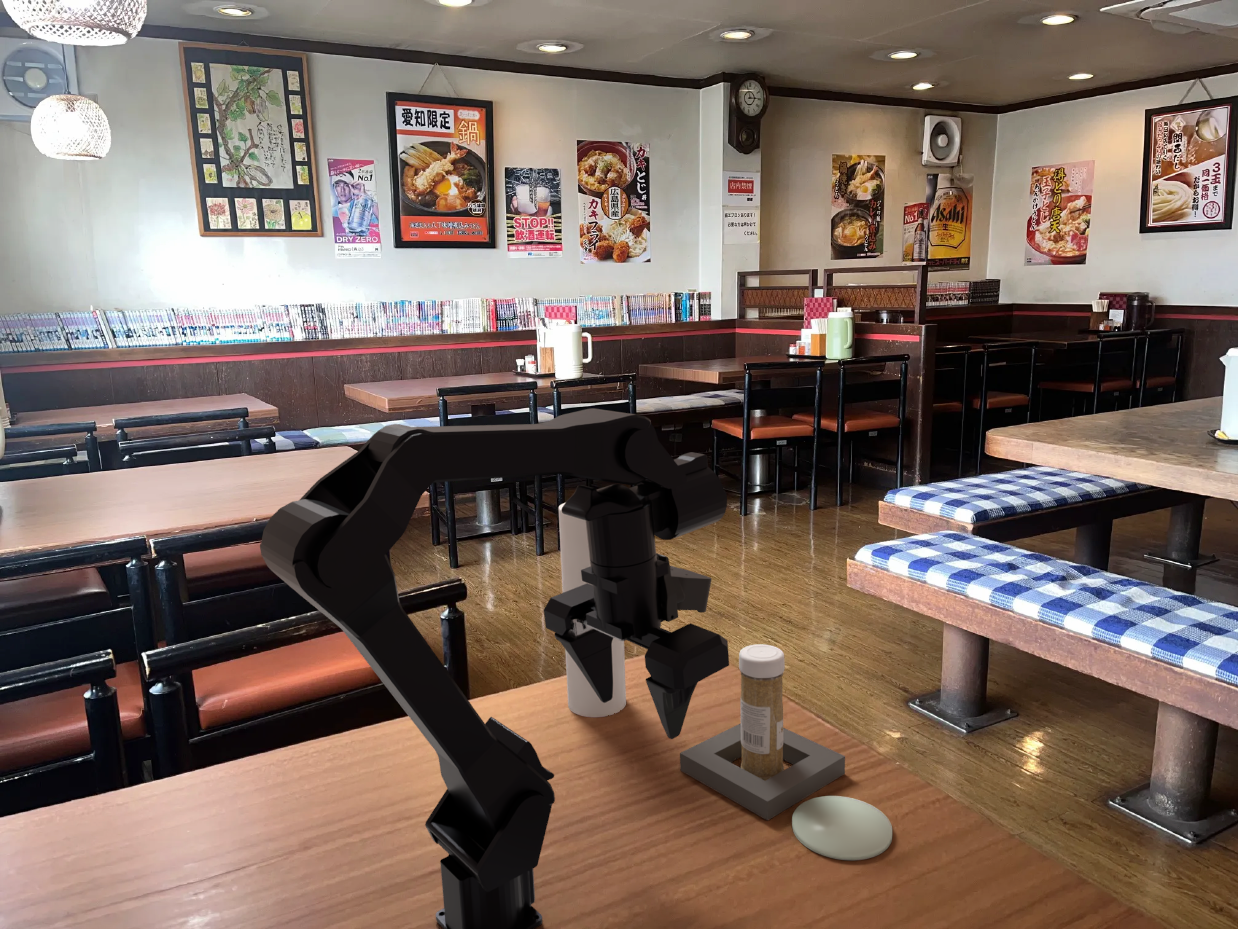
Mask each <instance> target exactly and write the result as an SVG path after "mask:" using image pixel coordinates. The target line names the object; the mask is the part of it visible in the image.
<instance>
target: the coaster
mask: <svg viewBox="0 0 1238 929" xmlns="http://www.w3.org/2000/svg"><path fill="white" fill-rule="evenodd" d="M791 827H792V832H793V834H794V836H795V838H796V839H797V840H798V841H799V843H801V844H802V845H803V846H804V847H806V848H808V850H810V851H812V852H814V853H816V854H819V855H820V856H824V857H825V858H826V857H827V858H831V859H835V860H839V861H840V860H842V861H861V860H868V859H870V858H874V857H877V856H879V855H880V854H883V853H884V852H885V851H886V850H887V849H888V848H889V847H890V846H891V843H892V841H893V827H892V824H891V821H890V819H889V817H887V816H886V814H884V813H883V811H881V810H880V809H878V808H877V807H875V806H874V805H872V804H870V803H868V802H865V801H863V800H859V799H857V798H852V797H848V796H843V795H842V796H840V795H825V796H819V797H813V798H811V799H808V800H806V801H804V802H802V803H800V804H799V805H798V806H797V807H796V809H795V810H794V812H793V814H792V818H791Z"/></svg>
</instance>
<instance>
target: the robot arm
mask: <svg viewBox="0 0 1238 929" xmlns="http://www.w3.org/2000/svg"><path fill="white" fill-rule="evenodd" d="M651 421H652V420H651V419H650V418H649V417H647V416H645V415H639V414H636V413H629V412H627V413H626V412H621V411H614V410H606V409H599V408H587V409H586V408H585V409H582V410H578V411H573V412H570V413H564V414H562V415H561V414H560V415H558V416H556V417H555V418H552V419H551V420H548V421H544V422H539V423H533V424H532V423H530V424H529V423H528V424H524V423H523V424H487V425H486V424H485V425H484V424H483V425H480V424H479V425H450V426H449V425H447V426H446V425H445V426H444V425H443V426H442V425H441V426H411V425H410V426H408V425H405V424H400V423H399V424H398V423H394V424H388V425H385V426H383V427H382V428H381V429H379V430H377V431H376V432H374V433H373V435H372V436H371V437H370V438H369V439H368V440H367V441H366V442H365V443H364V444H363V445H362V446H361V447H360V449H358V451H356V452H355V453H353V454H352V455H351V456H349V457H348V458H347V459H345V460H344V461H343V462H341V463H340V464H338V465H337V466H335V467H334V468H333V469H331V470H330V471H328V472H327V473H326V474H324V475H323V476H321V477H320V478H319V479H318V480H317V481H316V482H315V483H313V485H312V486H311V487H310V488H309V489H308V490H307V491H306V492H305V493H304V494H303V496H302V497H301V498H299V500H294V501H291V502H289V503H288V504H285V505H284V506H282V507H280V508H279V509H278V510H277V511H276V512H274V514H273V515H271V517H270V518H269V519H268V522H267V523H266V524H265V527H264V529H263V532H262V537H261V543H260V544H259V548H260V555H261V557H262V558H263V561H264V562H265V565H266V566H267V568H269V570H270V571H271V572H273V573H274V574H275V575H276V576H277V577H279V579H281V580H282V581H283V582H284V583H285V584H287V585H288V586H289V588H291V589H292V590H294V591H295V592H296V593H297V594H298V595H299V596H300V597H302V598H303V599H305V600H306V602H308V603H309V604H310V605H312V607H315V608H316V610H318V611H319V612H320V613H321V614H323V615H324V616H325V617H326V618H327V619H329V620H330V621H331V622H333V623H334V624H335V625H336V626H337V627H339V628H340V629H341V630H342V631H343V633H344V634H345V635H346V637H347V638H348V640H350V642H351V643H352V644H353V645H354V647H355V649H356V650H357V651H358V652H359V654H360V655H361V656H362V658H363V659H364V660H365V661H366V662H367V664H368V666H369V667H370V668H371V669H372V671H373V672H374V673H375V674H376V676H377V677H378V678H379V679H380V681H381V682H382V683H383V685H384V686H385V687H386V689H387V691H389V693H390V694H391V695H392V696H393V698H394V699H395V701H396V702H397V703H398V704H399V705H400V707H401V708H402V709H403V711H404V713H406V715H407V716H408V718H410V720H411V721H412V723H413V724H414V726H416V727H417V729H418V730H419V732H420V733H421V734H422V736H423V737H424V738H425V739H426V741H427V742H428V743H429V744H430V746H431V747H432V749H433V751H435V752H436V755H437V757H438V762H439V770H440V775H441V778H442V780H443V782H444V784H445V786H446V790H445V791H444V793H443V794H442V797H441V798H440V799H439V801H438V802H437V804H436V806H434V808H433V810H432V812H431V813H430V815H429V816H428V818H427V819H426V821H425V825H424V826H425V828H426V830H427V833H429V836H430V837H431V839H432V841H433V842H434V843H435V844H436V845H439V846H440V847H441V848H442V849H443V850H444V851H446V853H448V855H447V856H446V857H443V858H441V859H440V862H439V864H440V873H441V875H440V877H441V886H442V897H443V898H442V900H443V908H442V909H440V910H438V911H436V913H435V921H436V922H437V923H438V925H439V926H440V927H441V928H442V929H536V928H538V927H539V926H541V925H542V924H543V915H542V913H540V911H538V910H537V909H536V908H535V907H534V906H533V904H534V903H535V902H536V893H535V878H534V877H535V876H534V875H535V873H534V869H535V868H537V866H538V864H539V861H540V856H541V853H542V848H543V844H544V839H545V835H546V831H547V829H548V823H549V819H550V814H551V812H552V807H553V804H555V800H556V797H555V792H554V789H553V786H552V784H551V783H550V782H549V781H550V780H552V779H554V778H555V774H554V773H553V772H552V771H550V770H549V769H547V768H546V767H545V766H543V765H542V763H541V761H540V758H539V756H538V753H537V751H536V749H535V747H534V746H533V744H532V743H531V742H530V741H529V740H527V739H525V738H524V737H523V736H521V735H520V734H518V733H517V732H516V731H514V730H512V729H511V728H509V727H507V726H506V725H504V724H503V723H502V722H500V721H499V720H498V719H495V718H494V717H493V716H490V717H489V718H488V720H486V722H484V720H483V719H482V717H481V716H480V715H479V713H478V712H477V711H476V709H475V708H474V706H473V705H472V704H471V702H470V700H469V699H468V698H467V696H466V695H465V694H464V693H463V690H461V688H460V687H459V685H458V684H457V682H456V681H455V679H454V678H453V677H452V675H451V674H450V673H449V672H448V669H447V668H446V667H445V665H444V664H443V663H442V661H441V659H440V658H439V657H438V656H437V655H436V653H435V651H434V650H433V649H432V647H431V646H430V644H429V643H428V642H427V640H426V639H425V638H424V636H423V635H422V633H421V632H420V630H419V629H418V628H417V626H416V625H415V623H414V622H413V620H412V619H411V618H410V617H409V615H408V614H407V613H406V611H405V610H404V608H403V606H402V604H401V601H400V597H399V596H400V595H399V591H398V586H397V579H396V574H395V572H394V569H393V567H392V564H391V562H390V560H389V558H388V555H387V553H388V552H390V550H391V549H392V548H393V546H394V545H396V543H397V542H398V541H399V540H400V538H402V536H403V535H404V534H405V532H406V529H407V527H408V525H409V524H410V522H411V519H412V517H413V514H414V513H415V510H416V508H417V506H418V504H419V503H420V500H421V497H422V496H423V494H424V493H425V492H426V491H428V489H429V488H430V487H431V485H433V484H434V483H447V482H448V483H449V482H459V481H461V482H462V481H475V480H477V481H478V480H489V479H505V478H507V479H508V478H519V477H520V478H521V477H534V476H549V475H565V476H570V477H577V478H584V479H589V480H595V481H601V482H607V483H613V484H610V485H607V486H605V487H604V486H603V487H600V488H598V489H596V488H595V487H591V486H588V485H587V486H586V485H583V484H579V485H577V487H576V489H575V490H574V493H573V494H572V495H571V496H570V497H569V498H568V499H567V500H566V502H564V503H565V504H564V506H563V507H562V513H563V514H565V515H569V516H572V517H575V518H579V519H582V520H585V521H586V529H587V538H588V547H589V556H590V565H591V566H590V567H587V568H585V569H582V570H581V575H582V581H584V582H586V583H587V584H584V585H582V586H579V587H576V588H574V589H571V590H569V591H566V592H564V593H563V592H561V593H559V594H556V595H554V596H551V597H550V598H549V600H548V601H547V603H546V605H545V607H544V608H543V616H544V617H543V618H544V622H545V628H546V629H547V630H549V631H551V632H554V637H555V640H557V641H558V642H559V643H560V644H561V645H562V646H563V648H564V650H565V649H566V651H567V652H568V653H569V655H570V656H571V657H572V659H573V660H574V662H575V663H576V664H577V666H578V667H579V669H580V670H581V672H582V673H583V675H584V676H585V678H586V679H587V681H588V682H589V684H590V685H591V687H592V688H593V690H594V691H595V693H596V694H597V696H598V697H599V699H600V700H601V701H602V702H603V703H606V702H608V701H610V700H611V699H612V697H613V666H612V640H613V638H616V639H618V640H620V641H624V642H626V641H628V642H630V643H632V644H635V645H636V646H639V647H641V648H644V649H645V650H646V652H645V654H644V664H645V669H646V670H647V672H648V674H649V675H650V676H649V677H647V678H645V683H646V685H647V688H648V691H649V694H650V697H651V698H652V701H653V705H654V707H655V710H656V713H657V715H658V717H659V720H660V723H661V725H662V728H663V730H664V732H665V734H666V736H667V738H668V739H670V740H673V739H675V738H677V737H678V736H680V734H681V733H682V729H683V725H684V722H685V718H686V715H687V712H688V709H689V705H690V702H691V700H692V697H693V694H694V691H695V689H696V687H697V685H698V683H699V682H701V681H703V680H705V679H706V678H708V677H710V676H712V675H713V674H715V673H717V672H719V671H721V670H724V669H726V668H727V667H729V666H730V658H729V643H728V642H729V641H728V640H727V639H726V638H725V637H724V636H722V635H720V634H719V633H717V632H714V631H712V630H709V629H706V628H705V627H701V626H698V625H696V624H693V623H691V622H690V623H688V624H686V625H684V626H682V627H680V628H678V629H675V630H673V631H669V630H667V629H664V628H662V627H661V626H662V622H667V623H670V622H672V621H673V620H677V619H678V618H679V611H696V612H697V613H701V614H703V613H706V612H707V608H708V607H707V606H708V602H709V596H710V592H711V591H710V590H711V584H712V581H713V580H712V577H710V576H708V575H704V574H701V573H698V572H695V571H693V570H688V569H685V568H681V567H677V566H674V565H670V559H669V557H668V556H666V555H664V554H661V553H658V552H657V548H656V538H659V539H660V540H664V541H671V540H673V539H677V538H678V537H681V536H684V535H686V534H689V533H692V532H694V531H697V530H700V529H701V528H706V527H707V526H710V525H712V524H715V523H717V522H719V521H721V519H722V518H723V517H724V515H725V513H726V510H727V507H728V495H727V491H726V490H725V489H724V485H723V484H722V482H721V480H720V478H719V476H717V473H716V472H715V471H713V470H712V468H710V467H709V465H708V463H709V461H708V456H707V454H703V453H697V452H687V453H684V454H681V455H679V457H677V458H673V457H672V456H671V455H670V454H669V452H668V450H667V449H666V448H665V447H664V446H663V445H662V443H661V442H660V441H659V438H658V435H657V432H656V429H655V427H654V425H653V424H652V422H651ZM628 485H629V486H632V487H628ZM634 485H635V486H634ZM655 537H656V538H655ZM588 583H589V584H588ZM590 584H592V585H590Z"/></svg>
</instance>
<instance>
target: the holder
mask: <svg viewBox="0 0 1238 929" xmlns="http://www.w3.org/2000/svg"><path fill="white" fill-rule="evenodd" d="M740 758H742V744H741V722H740V723H738V724H736V725H733V727H730V728H728V729H726V730H723V731H722V732H720V733H718V734H715V735H714V736H712V737H709V738H708V739H706V740H704V741H702V742H700V743H697V744H695V745H694V746H692V747H691V746H690V747H689V748H687V749H685V750H683V751H681V752H680V753H679V769H680V771H681V772H682V773H684V774H686V775H687V776H690V777H691V778H693V779H695V780H696V781H699V783H701V784H703V785H705V786H706V787H709V788H711V789H712V790H714V791H715V792H718V793H719V794H720V795H722V796H723V797H726V798H728V799H729V800H731V801H733V802H734V803H736V804H738V805H740V806H741V807H744V808H745V809H746V810H749V811H750V812H752V813H754V814H756V815H757V816H758V817H760V818H762V819H764V820H766V821H769V820H771V819H772V818H774V817H775V816H777V815H779V814H781V813H782V812H784V811H785V810H788V809H789V808H791V807H793V806H795V804H797V803H799V802H801V801H802V800H805V799H806V798H808V797H809V796H810V795H812V794H814V793H815V792H817V791H819V790H820V789H822V788H824V787H825V786H827V785H828V784H831V783H832V782H834V781H835V780H836V779H839V778H841V777H842V776H844V775H845V774H846V755H844V754H842V753H839V752H837V751H835V750H833V749H830V748H829V747H827V746H824V745H822V744H819V743H818V742H815V741H813V740H811V739H810V738H808V737H805V736H802V735H801V734H798V733H796V732H794V731H792V730H789V729H787V728H785V727H783V761H785V762H787V763H789V764H791V765H790V766H789V767H787V768H784V770H783V771H782V772H780V773H778V774H776V775H775V776H773V777H771V778H769V779H767V780H766V781H764V780H762V779H761V778H759V777H757V776H755V775H753V774H751V773H749V772H747V771H746V770H744V769H742V768H741V766H740V767H739V766H738V765H736V764H734V763H733V762H734V761H736V760H737V759H740Z"/></svg>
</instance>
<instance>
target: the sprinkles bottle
mask: <svg viewBox="0 0 1238 929" xmlns="http://www.w3.org/2000/svg"><path fill="white" fill-rule="evenodd" d="M738 653H739V656H738V669H739V671H740V699H739V700H740V706H739V707H740V723H741V744H742V757H741V762H740V768H742V769H744V770H746V771H747V772H749V773H751V774H753V775H755V776H757V777H759V778H761V779H762V780H764V781H766V780H767V779H769V778H771V777H773V776H775V775H776V774H778V773H780V772H782V771H783V770H785V766H784V760H783V728H784V704H783V697H784V696H783V688H784V687H783V684H784V683H783V676H784V672H785V668H786V667H785V663H786V662H785V653H784V651H783V649H780V648H779V647H776V646H775V645H770V644H762V643H761V644H760V643H758V644H750V645H747V646H744V647H743V648H741V649H740V651H739V652H738Z"/></svg>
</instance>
